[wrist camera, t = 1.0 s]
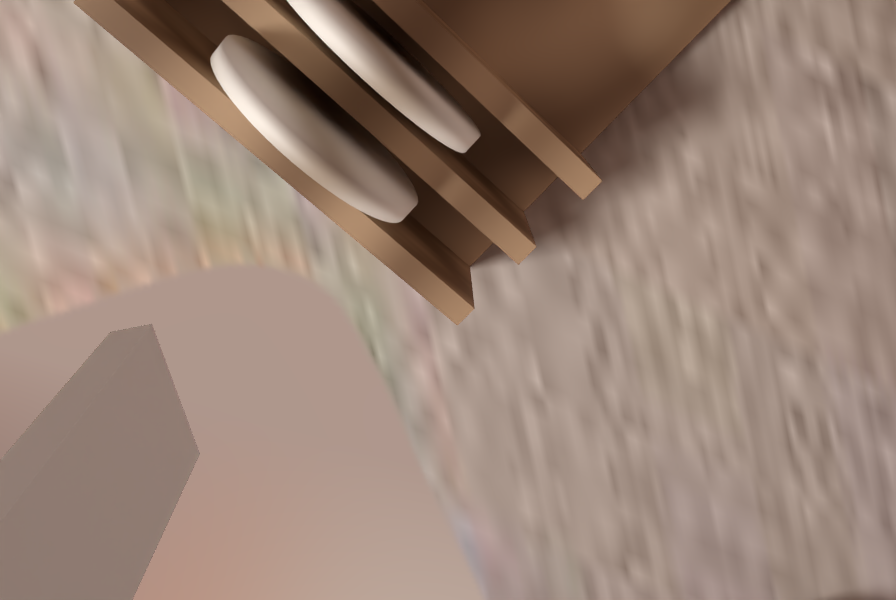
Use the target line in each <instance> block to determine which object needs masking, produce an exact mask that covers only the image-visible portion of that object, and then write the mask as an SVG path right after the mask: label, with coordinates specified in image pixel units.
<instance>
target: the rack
mask: <svg viewBox="0 0 896 600" xmlns="http://www.w3.org/2000/svg"><path fill="white" fill-rule="evenodd" d="M730 1H731V0H75V1H74V4H76V5H77V6H78V7H79V8H80V9H81V10H83V11H84V12H85V13H86V14H87V15H89V16H90V17H91V18H92V19H93V20H95V21H96V22H97V23H98V24H99V25H100V26H102V27H103V28H104V29H105V30H106V31H108V32H109V33H110V34H111V35H112V36H114V37H115V38H116V39H117V40H118V41H120V42H121V43H122V44H123V45H124V46H125V47H127V48H128V49H129V50H130V51H131V52H133V53H134V54H135V55H136V56H137V57H139V58H140V59H141V60H142V61H143V62H144V63H146V64H147V65H148V66H149V67H150V68H152V69H153V70H154V71H155V72H156V73H158V74H159V75H160V76H161V77H162V78H164V79H165V80H166V81H167V82H168V83H169V84H171V85H172V86H173V87H174V88H175V89H177V90H178V91H179V92H180V93H181V94H183V95H184V96H185V97H186V98H187V99H188V100H190V101H191V102H192V103H193V104H194V105H196V106H197V107H198V108H199V109H200V110H202V111H203V112H204V113H205V114H206V115H208V116H209V117H210V118H211V119H212V120H213V121H215V122H216V123H217V124H218V125H219V126H221V127H222V128H223V129H224V130H225V131H227V132H228V133H229V134H230V135H231V136H233V137H234V138H235V139H236V140H237V141H238V142H240V143H241V144H242V145H243V146H244V147H246V148H247V149H248V150H249V151H250V152H252V153H253V154H254V155H255V156H256V157H257V158H259V159H260V160H261V161H262V162H263V163H265V164H266V165H267V166H268V167H269V168H271V169H272V170H273V171H274V172H275V173H277V174H278V175H279V176H280V177H281V178H282V179H284V180H285V181H286V182H287V183H288V184H290V185H291V186H292V187H293V188H294V189H296V190H297V191H298V192H299V193H300V194H301V195H303V196H304V197H305V198H306V199H307V200H309V201H310V202H311V203H312V204H313V205H315V206H316V207H317V208H318V209H319V210H321V211H322V212H323V213H324V214H325V215H326V216H328V217H329V218H330V219H331V220H332V221H334V222H335V223H336V224H337V225H338V226H340V227H341V228H342V229H343V230H344V231H345V232H347V233H348V234H349V235H350V236H351V237H353V238H354V239H355V240H356V241H357V242H359V243H360V244H361V245H362V246H363V247H365V248H366V249H367V250H368V251H369V252H370V253H372V254H373V255H374V256H375V257H376V258H378V259H379V260H380V261H381V262H382V263H384V264H385V265H386V266H387V267H388V268H389V269H391V270H392V271H393V272H394V273H395V274H397V275H398V276H399V277H400V278H401V279H403V280H404V281H405V282H406V283H407V284H409V285H410V286H411V287H412V288H413V289H414V290H416V291H417V292H418V293H419V294H420V295H422V296H423V297H424V298H425V299H426V300H428V301H429V302H430V303H431V304H432V305H433V306H435V307H436V308H437V309H438V310H439V311H441V312H442V313H443V314H444V315H445V316H447V317H448V318H449V319H450V320H451V321H453V322H454V323H455V324H456V325H458V324H459V323H460V322H461V321H462V320H463V319H464V318H465V317H466V316H467V315H468V314H469V313H470V312H471V311H472V310H473V309H474V300H473V291H472V281H471V272H470V266H471V265H472V264H473V263H474V262H475V261H476V260H477V259H478V258H479V257H480V256H481V255H482V254H483V253H484V252H485V251H486V250H487V249H488V248H489V247H490V246H491V245H492V244H493V243H495V244H496V245H497V246H498V247H499V248H500V249H501V250H502V251H504V252H505V253H506V254H507V255H508V256H509V257H510V258H511V259H512V260H514V261H515V262H516V263H517V264H518V265H519V264H520V263H521V262H522V261H523V260H524V259H525V258H526V257H527V256H528V255H529V254H530V253H531V252H532V251H533V250H534V249H535V248H536V244H535V241H534V239H533V236H532V233H531V230H530V228H529V225H528V222H527V219H526V216H525V214H524V211H525V210H526V209H527V208H528V207H529V206H530V205H531V204H532V203H533V202H534V201H535V200H536V199H537V198H538V197H539V196H540V195H541V194H542V193H543V192H544V191H545V190H546V189H547V187H548V186H549V185H550V184H551V183H552V182H553V181H554V180H555V179H556V178H557V177H559V178H560V179H561V180H562V181H563V182H564V183H565V184H567V185H568V186H569V187H570V188H571V189H572V190H573V191H574V192H575V193H576V194H577V195H578V196H579V197H580V198H581V199H582V200H584V199H585V198H586V197H587V196H588V195H589V194H590V193H591V192H592V191H593V190H594V189H595V188H596V187H597V186H598V185H599V184H600V183H601V182H602V180H601V179H600V177H599V176H598V175H597V174H596V173H595V171H594V170H593V169H592V168H591V166H590V165H589V164H588V163H587V161H586V160H585V159H584V158H583V156H582V155H581V153H582V152H583V151H584V150H585V149H586V148H587V147H588V146H589V145H590V144H591V143H592V142H593V141H594V140H595V139H596V138H597V136H598V135H599V134H600V133H601V132H602V131H603V130H604V129H605V128H606V127H607V126H608V125H609V124H610V123H611V122H612V121H613V120H614V119H615V118H616V117H617V116H618V115H619V114H620V113H621V112H622V111H623V110H624V109H625V108H626V107H627V106H628V105H629V104H630V103H631V102H632V101H633V100H634V99H635V98H636V97H637V96H638V95H639V94H640V93H641V92H642V91H643V90H644V89H645V88H646V86H647V85H648V84H649V83H650V82H651V81H652V80H653V79H654V78H655V77H656V76H657V75H658V74H659V73H660V72H661V71H662V70H663V69H664V68H665V67H666V66H667V65H668V64H669V63H670V62H671V61H672V60H673V59H674V58H675V57H676V56H677V55H678V54H679V53H680V52H681V51H682V50H683V49H684V48H685V47H686V46H687V45H688V44H689V43H690V42H691V41H692V40H693V39H694V38H695V36H696V35H697V34H698V33H699V32H700V31H701V30H702V29H703V28H704V27H705V26H706V25H707V24H708V23H709V22H710V21H711V20H712V19H713V18H714V17H715V16H716V15H717V14H718V13H719V12H720V11H721V10H722V9H723V8H724V7H725V6H726V5H727V4H728V3H729V2H730Z"/></svg>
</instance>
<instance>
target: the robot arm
mask: <svg viewBox="0 0 896 600" xmlns="http://www.w3.org/2000/svg"><path fill="white" fill-rule="evenodd" d="M199 454H200V453H199V450H198V447H197V445H196V442H195V439H194V437H193V434H192V431H191V428H190V426H189V423H188V420H187V418H186V415H185V412H184V410H183V407H182V404H181V401H180V399H179V396H178V393H177V391H176V388H175V385H174V383H173V380H172V377H171V374H170V372H169V369H168V366H167V363H166V361H165V358H164V355H163V353H162V350H161V347H160V344H159V342H158V339H157V336H156V334H155V331H154V328H153V326H152V324H149V325H144V326H139V327H134V328H129V329H123V330H118V331H113V332H110V333H109V334H108V336H107V337H106V338H105V339H104V340H103V341H102V342H101V343H100V345H99V346H98V347H97V348H96V349H95V350H94V352H93V353H92V354H91V355H90V356H89V358H88V359H87V360H86V361H85V362H84V363H83V364H82V366H81V367H80V368H79V369H78V370H77V372H76V373H75V374H74V375H73V376H72V377H71V378H70V380H69V381H68V382H67V383H66V384H65V385H64V387H63V388H62V389H61V390H60V391H59V392H58V393H57V395H56V396H55V397H54V398H53V399H52V400H51V402H50V403H49V404H48V405H47V406H46V407H45V409H44V410H43V411H42V412H41V413H40V415H39V416H38V417H37V418H36V419H35V420H34V421H33V423H32V424H31V425H30V426H29V428H27V430H26V431H25V432H24V433H23V434H22V435H21V437H20V438H19V439H18V440H17V441H16V442H15V443H14V445H13V446H12V447H11V448H10V449H9V450H8V452H7V453H6V454H5V455H4V456H3V457H2V459H1V460H0V600H133V597H134V595H135V593H136V591H137V589H138V586H139V584H140V582H141V580H142V578H143V576H144V573H145V571H146V569H147V567H148V565H149V563H150V560H151V558H152V556H153V554H154V552H155V550H156V548H157V545H158V543H159V541H160V539H161V537H162V535H163V532H164V530H165V528H166V526H167V524H168V522H169V520H170V517H171V515H172V513H173V511H174V509H175V507H176V504H177V502H178V500H179V498H180V496H181V494H182V491H183V489H184V487H185V485H186V483H187V481H188V478H189V476H190V474H191V472H192V470H193V468H194V465H195V463H196V461H197V459H198V457H199Z"/></svg>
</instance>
